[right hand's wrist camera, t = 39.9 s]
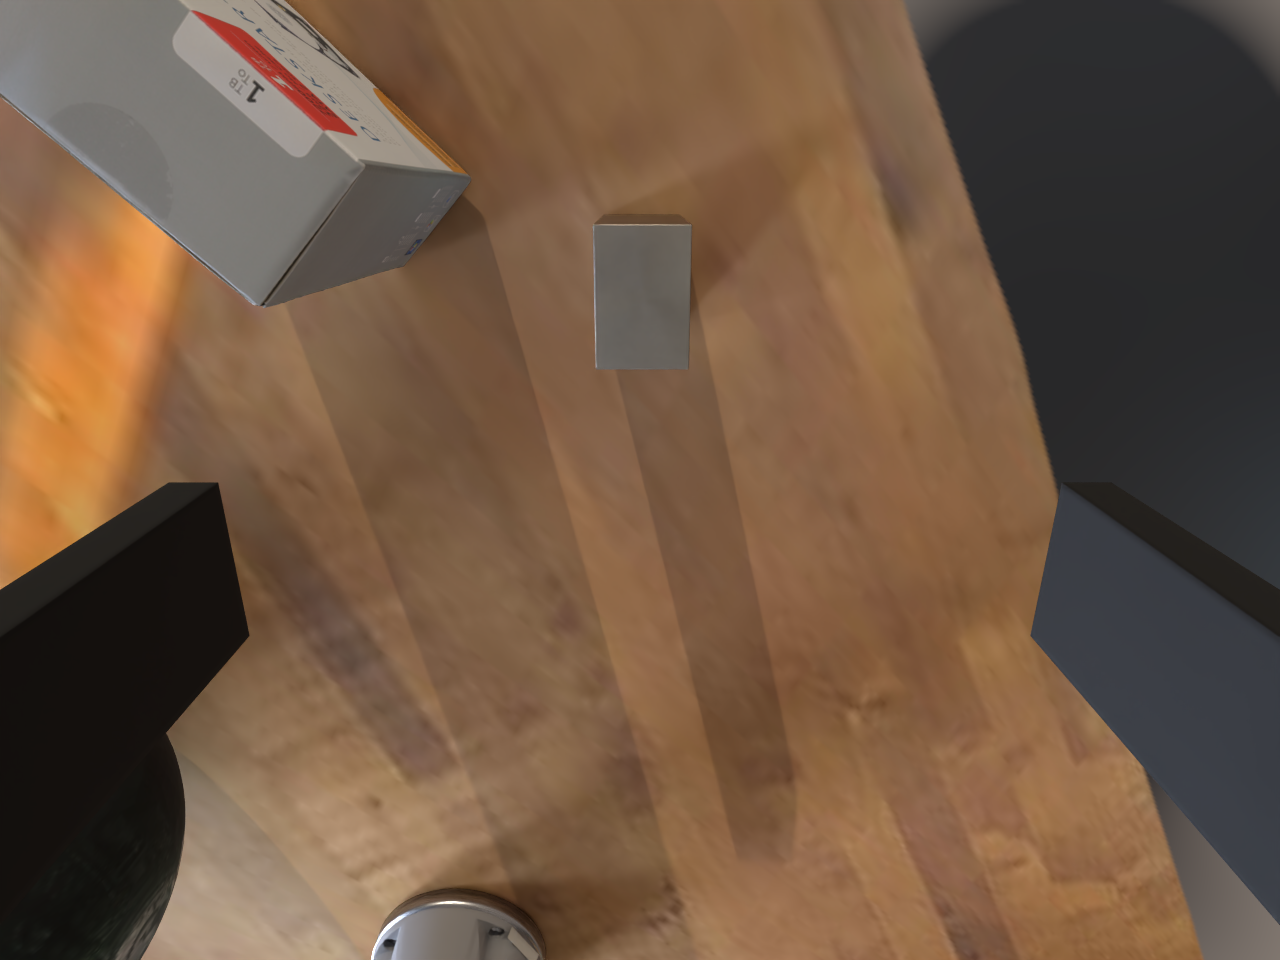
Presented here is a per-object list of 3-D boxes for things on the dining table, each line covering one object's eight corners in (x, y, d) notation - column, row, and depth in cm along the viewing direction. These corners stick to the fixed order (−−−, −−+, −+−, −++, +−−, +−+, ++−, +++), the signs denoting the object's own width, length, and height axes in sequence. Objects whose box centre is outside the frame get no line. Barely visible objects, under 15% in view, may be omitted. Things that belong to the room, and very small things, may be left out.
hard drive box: (477, 177, 48) (374, 174, 29) (401, 270, 50) (260, 323, 31) (263, -25, 44) (-11, -176, 26) (190, 85, 46) (-113, 19, 28)
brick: (680, 214, 49) (692, 224, 38) (677, 328, 52) (688, 369, 40) (603, 214, 49) (592, 224, 38) (605, 328, 52) (595, 369, 40)
